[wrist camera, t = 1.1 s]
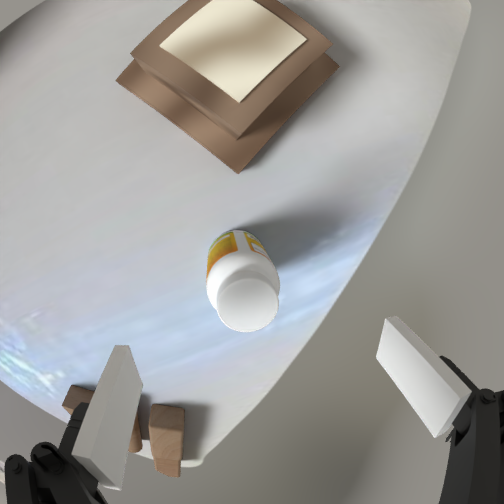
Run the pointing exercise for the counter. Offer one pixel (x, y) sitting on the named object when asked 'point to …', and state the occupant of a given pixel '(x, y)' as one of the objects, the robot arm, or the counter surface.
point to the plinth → (229, 72)
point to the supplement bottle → (242, 281)
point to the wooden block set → (160, 431)
